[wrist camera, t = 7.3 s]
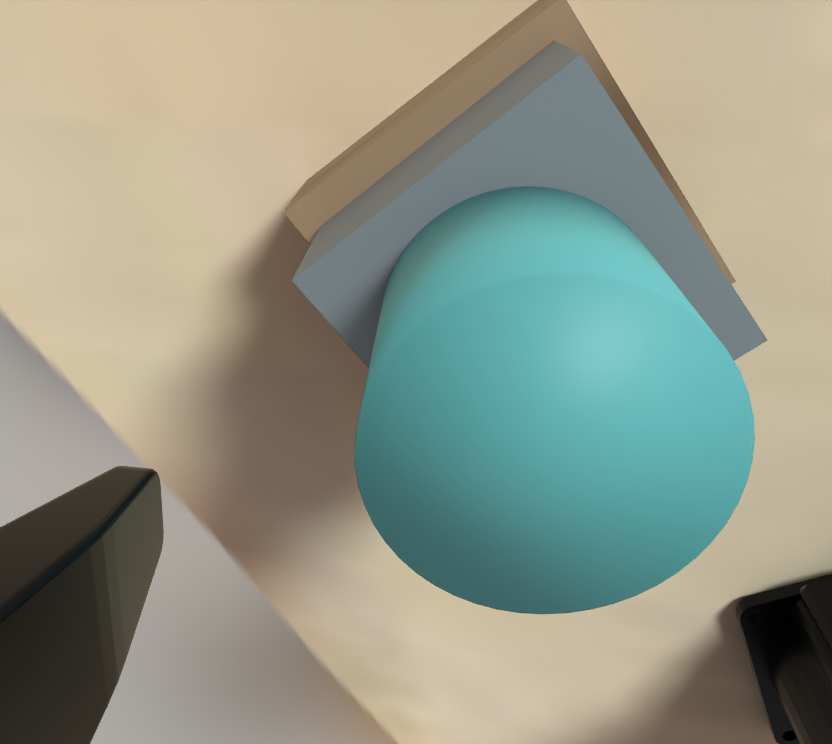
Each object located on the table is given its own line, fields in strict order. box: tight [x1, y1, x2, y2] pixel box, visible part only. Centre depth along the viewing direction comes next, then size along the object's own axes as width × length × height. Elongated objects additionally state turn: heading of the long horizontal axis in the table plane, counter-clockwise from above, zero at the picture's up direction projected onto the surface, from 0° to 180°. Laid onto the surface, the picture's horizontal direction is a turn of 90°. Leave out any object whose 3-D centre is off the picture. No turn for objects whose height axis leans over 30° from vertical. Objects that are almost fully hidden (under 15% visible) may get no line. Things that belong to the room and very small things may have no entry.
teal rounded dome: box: [355, 186, 755, 614], centre depth 12 cm, size 5×5×4 cm
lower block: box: [283, 0, 736, 284], centre depth 19 cm, size 7×7×4 cm
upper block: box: [292, 40, 767, 368], centre depth 16 cm, size 6×6×4 cm
